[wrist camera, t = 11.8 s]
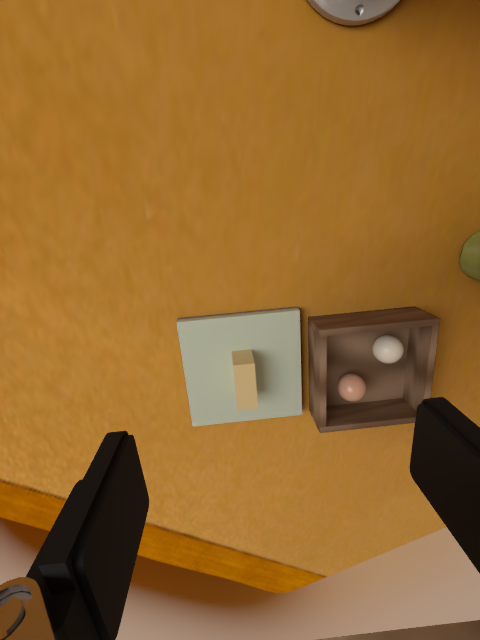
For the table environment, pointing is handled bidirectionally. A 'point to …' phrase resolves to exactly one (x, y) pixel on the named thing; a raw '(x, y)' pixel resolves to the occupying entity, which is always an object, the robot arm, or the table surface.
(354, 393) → the terracotta ball
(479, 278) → the plant pot
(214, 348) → the lid
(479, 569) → the robot arm
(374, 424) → the walnut box
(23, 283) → the table surface
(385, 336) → the cream ball
